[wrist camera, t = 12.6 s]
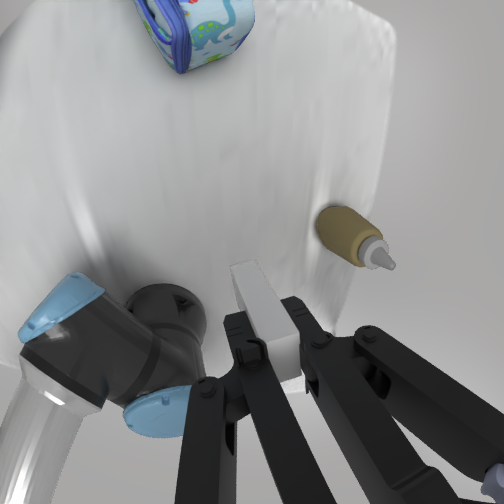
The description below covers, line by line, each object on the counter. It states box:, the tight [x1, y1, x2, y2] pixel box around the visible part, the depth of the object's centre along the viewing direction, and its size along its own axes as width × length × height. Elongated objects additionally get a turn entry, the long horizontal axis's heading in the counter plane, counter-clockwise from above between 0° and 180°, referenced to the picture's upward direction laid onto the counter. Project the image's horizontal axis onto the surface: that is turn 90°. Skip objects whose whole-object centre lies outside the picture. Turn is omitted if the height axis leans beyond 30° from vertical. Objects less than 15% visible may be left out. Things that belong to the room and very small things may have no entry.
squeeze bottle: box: [316, 206, 396, 270], centre depth 43 cm, size 8×8×18 cm
